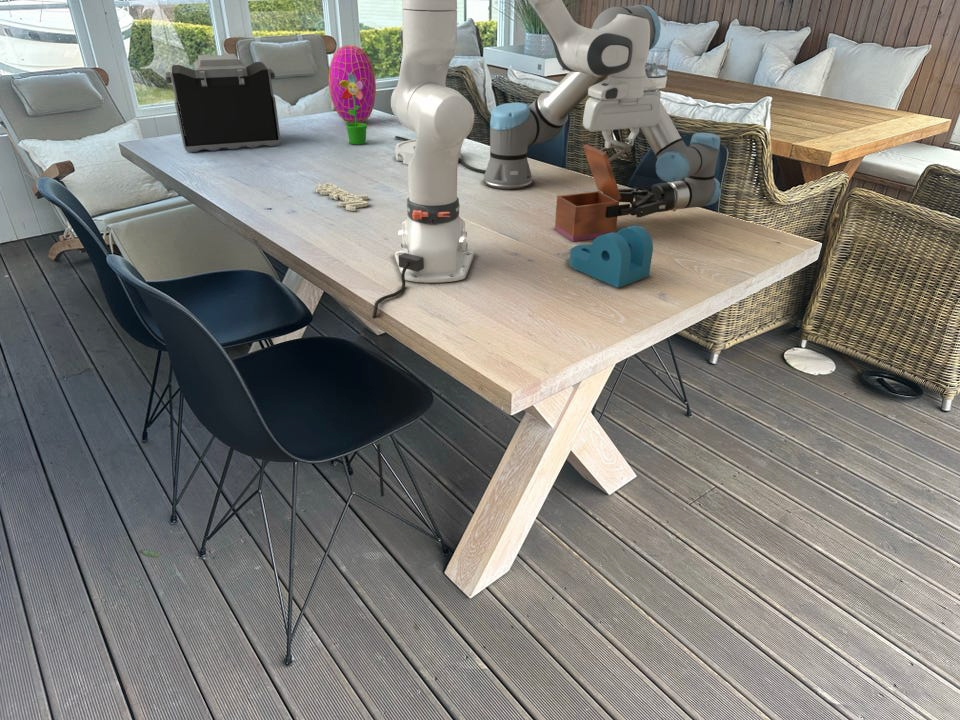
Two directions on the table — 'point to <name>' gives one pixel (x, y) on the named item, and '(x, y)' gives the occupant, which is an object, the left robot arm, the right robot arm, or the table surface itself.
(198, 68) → the electronic device
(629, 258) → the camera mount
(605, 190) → the lid
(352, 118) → the decorative egg
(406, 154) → the ashtray
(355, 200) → the decorative sign
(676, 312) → the table surface
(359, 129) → the potted flower
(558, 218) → the chest
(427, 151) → the left robot arm
